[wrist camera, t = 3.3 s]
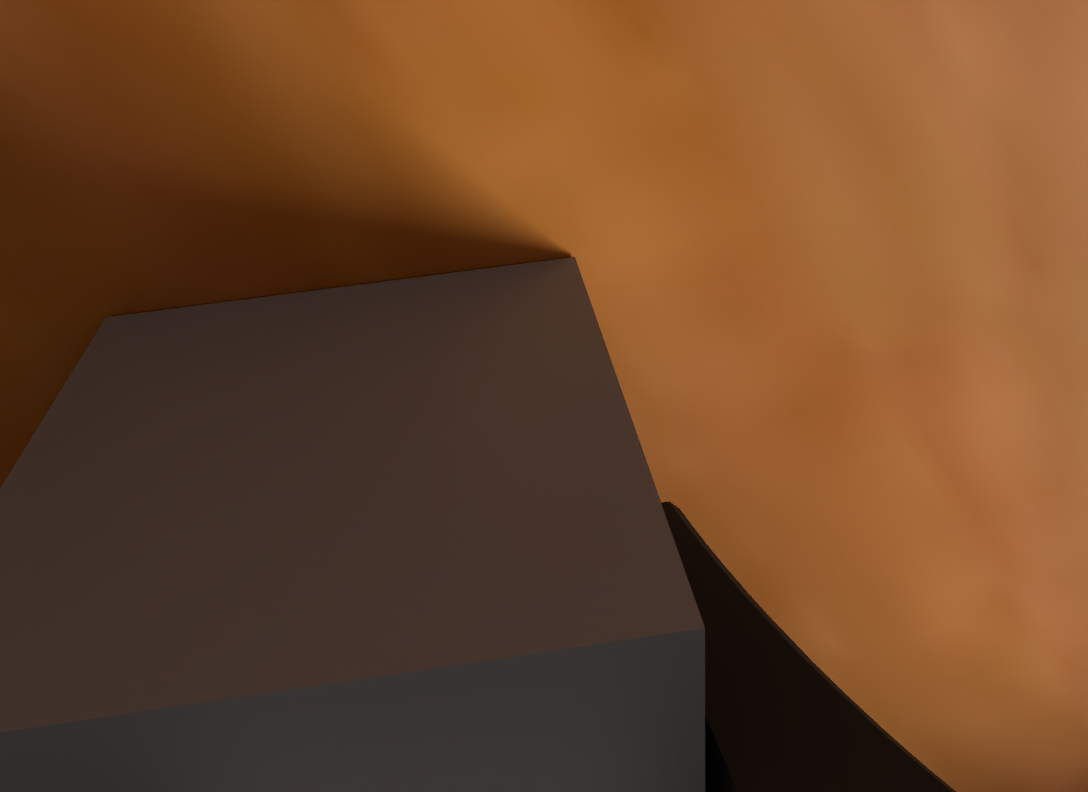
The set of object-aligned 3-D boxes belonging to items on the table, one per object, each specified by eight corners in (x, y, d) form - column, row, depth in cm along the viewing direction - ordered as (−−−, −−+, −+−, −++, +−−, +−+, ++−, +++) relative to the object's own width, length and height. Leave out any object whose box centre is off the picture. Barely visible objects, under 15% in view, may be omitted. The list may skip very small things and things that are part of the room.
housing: (574, 256, 9) (704, 627, 5) (613, 752, 13) (705, 1197, 9) (105, 316, 9) (-166, 756, 5) (286, 803, 13) (221, 1284, 9)
